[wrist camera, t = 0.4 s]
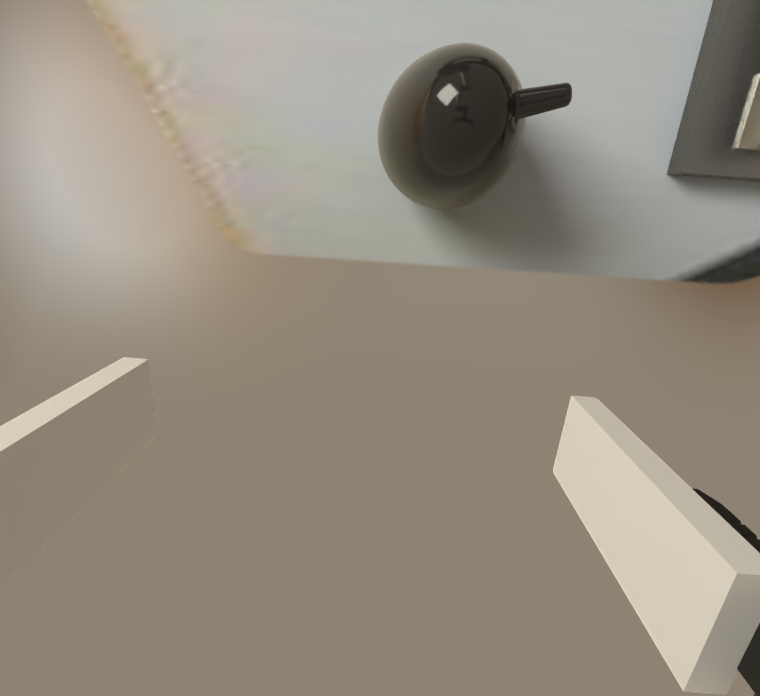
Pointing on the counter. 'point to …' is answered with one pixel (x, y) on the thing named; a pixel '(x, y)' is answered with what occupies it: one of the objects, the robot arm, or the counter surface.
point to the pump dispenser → (457, 124)
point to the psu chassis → (723, 99)
